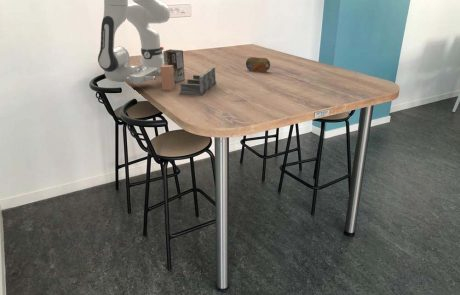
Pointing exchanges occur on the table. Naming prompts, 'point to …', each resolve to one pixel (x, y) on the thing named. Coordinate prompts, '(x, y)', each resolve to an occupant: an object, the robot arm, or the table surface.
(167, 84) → the tall salmon pillar
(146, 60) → the robot arm
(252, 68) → the tin
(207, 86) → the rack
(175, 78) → the coffee box
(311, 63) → the table surface
